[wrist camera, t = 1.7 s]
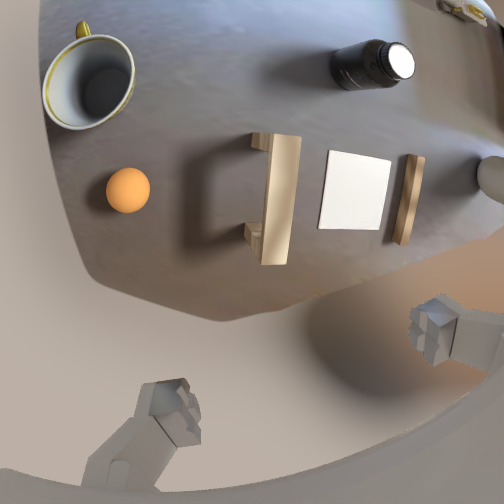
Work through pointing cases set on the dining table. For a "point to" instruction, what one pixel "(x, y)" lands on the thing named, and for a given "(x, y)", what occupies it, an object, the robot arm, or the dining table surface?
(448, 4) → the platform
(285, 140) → the bridge
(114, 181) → the ball
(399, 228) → the rail
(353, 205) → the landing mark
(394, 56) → the supplement bottle
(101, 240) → the dining table surface
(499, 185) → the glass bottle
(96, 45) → the ceramic cup
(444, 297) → the robot arm
